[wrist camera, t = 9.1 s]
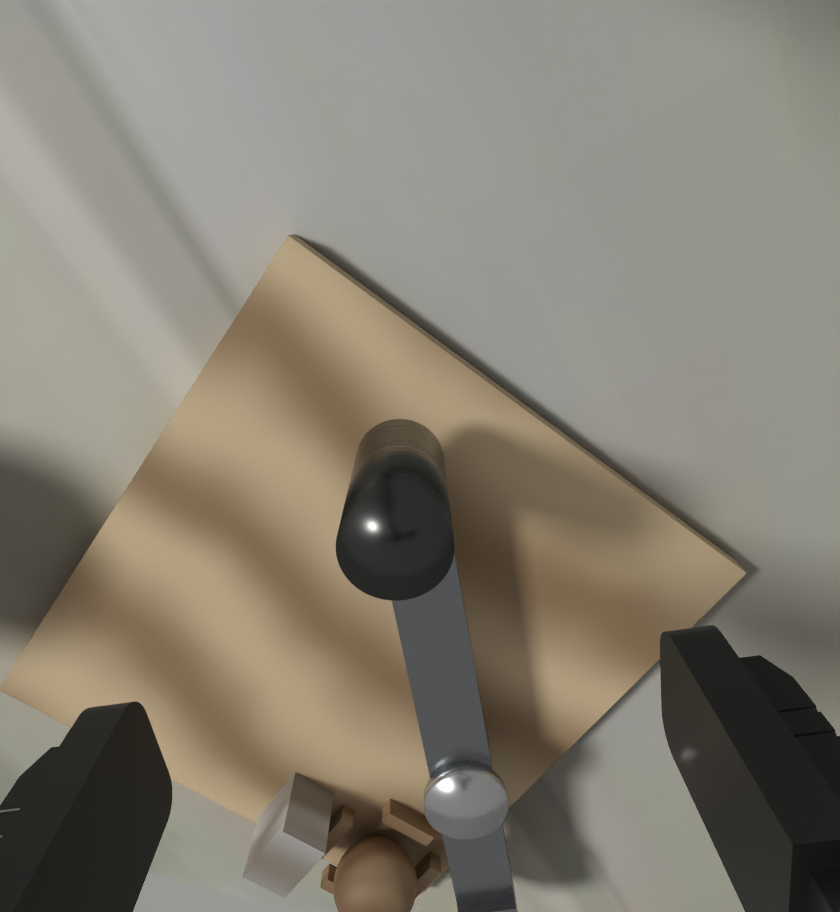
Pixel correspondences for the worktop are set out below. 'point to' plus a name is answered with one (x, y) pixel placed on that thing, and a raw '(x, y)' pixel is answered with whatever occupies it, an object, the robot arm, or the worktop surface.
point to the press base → (335, 598)
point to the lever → (430, 645)
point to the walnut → (375, 877)
